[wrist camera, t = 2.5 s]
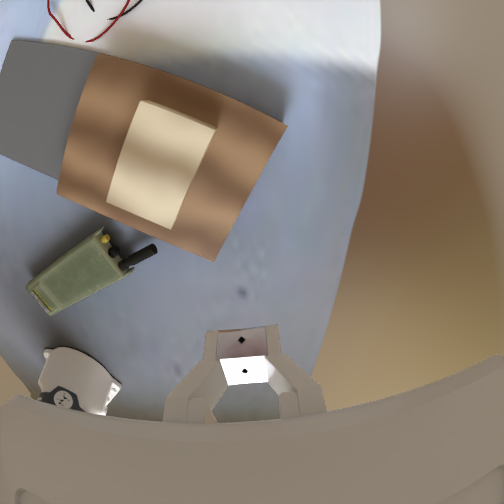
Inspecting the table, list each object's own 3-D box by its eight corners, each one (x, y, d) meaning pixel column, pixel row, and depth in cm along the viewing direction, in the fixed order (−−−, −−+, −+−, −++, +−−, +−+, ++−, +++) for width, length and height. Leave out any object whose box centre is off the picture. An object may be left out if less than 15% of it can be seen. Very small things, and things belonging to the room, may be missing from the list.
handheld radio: (56, 306, 38) (164, 249, 33) (48, 319, 35) (158, 264, 30) (32, 277, 35) (134, 204, 30) (22, 289, 32) (124, 216, 27)
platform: (216, 246, 33) (213, 261, 30) (71, 183, 28) (56, 193, 25) (282, 122, 26) (287, 125, 23) (112, 56, 21) (98, 52, 18)
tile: (176, 218, 28) (170, 229, 25) (116, 193, 26) (106, 201, 24) (217, 127, 23) (215, 130, 21) (149, 100, 21) (140, 100, 19)
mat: (68, 182, 28) (66, 183, 28) (-14, 146, 23) (-15, 147, 23) (109, 55, 21) (107, 55, 21) (13, 40, 16) (11, 40, 16)
